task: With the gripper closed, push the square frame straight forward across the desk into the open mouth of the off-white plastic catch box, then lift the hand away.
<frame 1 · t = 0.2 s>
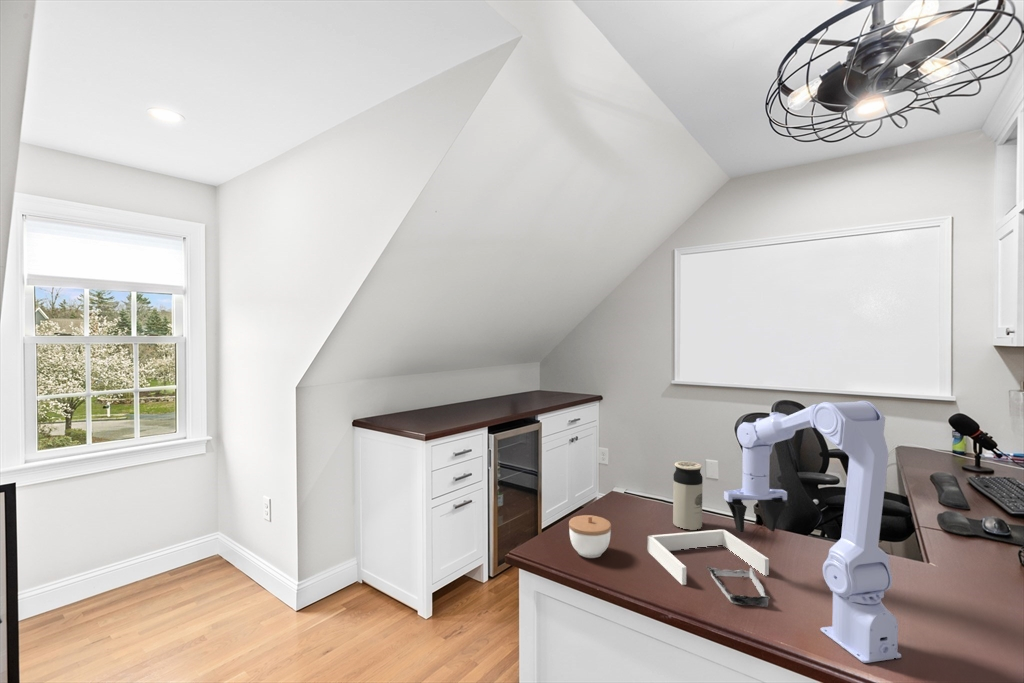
hand: (755, 530, 115), 10 cm above the table, tool pointing down, fingers open, 7 cm apart
lidded jar: (589, 553, 125), on the table
travel mug: (687, 526, 142), on the table
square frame: (737, 592, 107), on the table
catch box: (706, 563, 119), on the table
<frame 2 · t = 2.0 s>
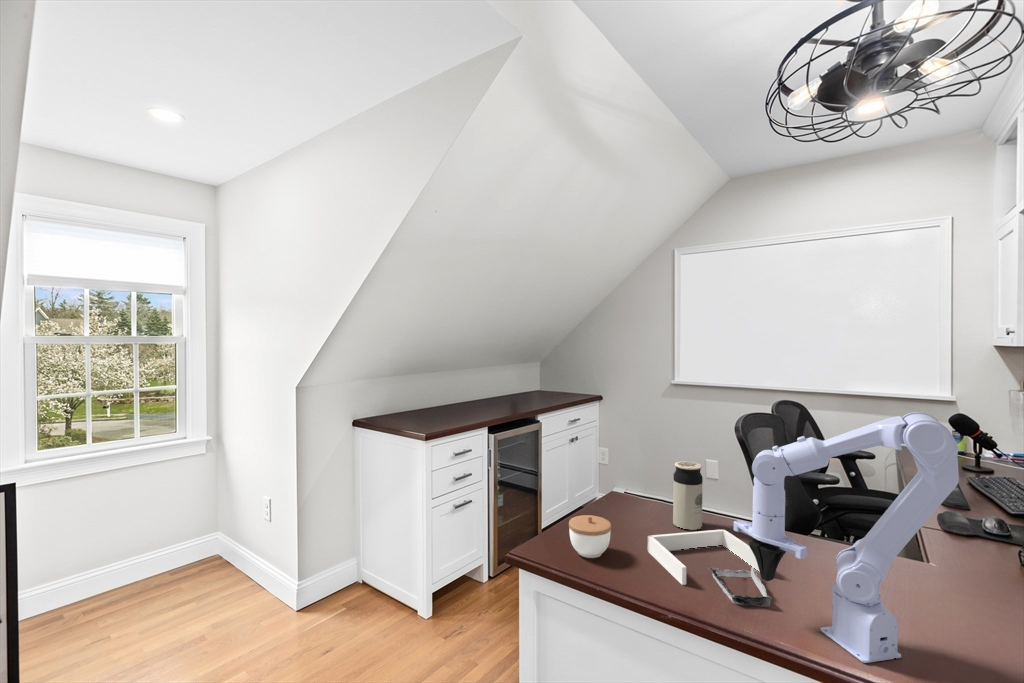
hand: (767, 578, 97), 8 cm above the table, tool pointing down, fingers closed
nothing on the table moved.
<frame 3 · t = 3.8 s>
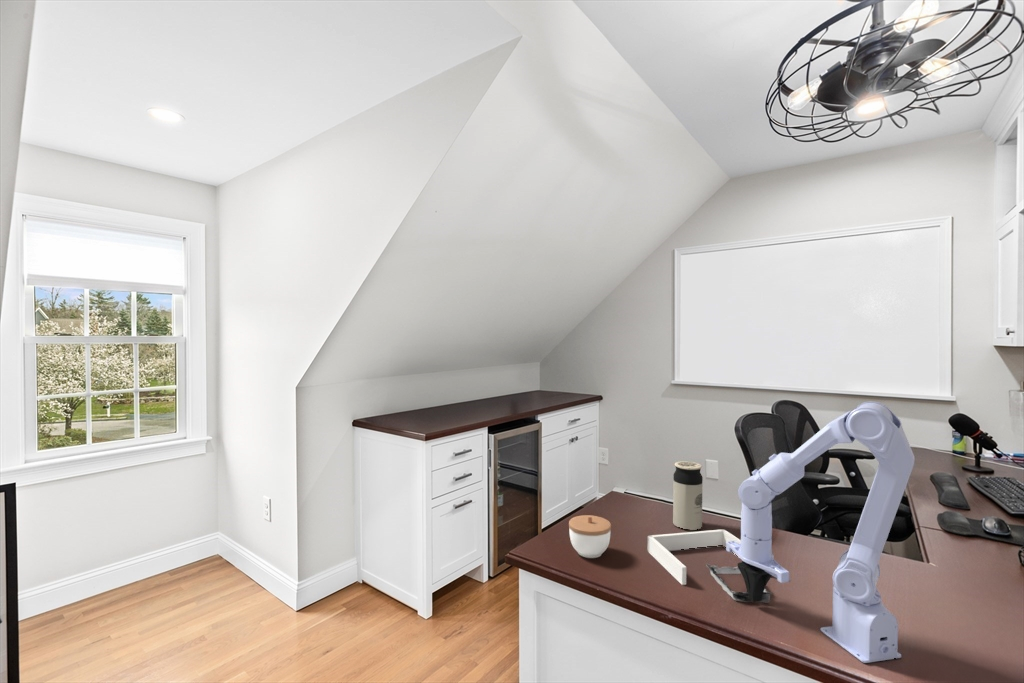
hand: (755, 599, 101), 1 cm above the table, tool pointing down, fingers closed
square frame: (738, 589, 109), on the table, touching gripper
everything else where it was.
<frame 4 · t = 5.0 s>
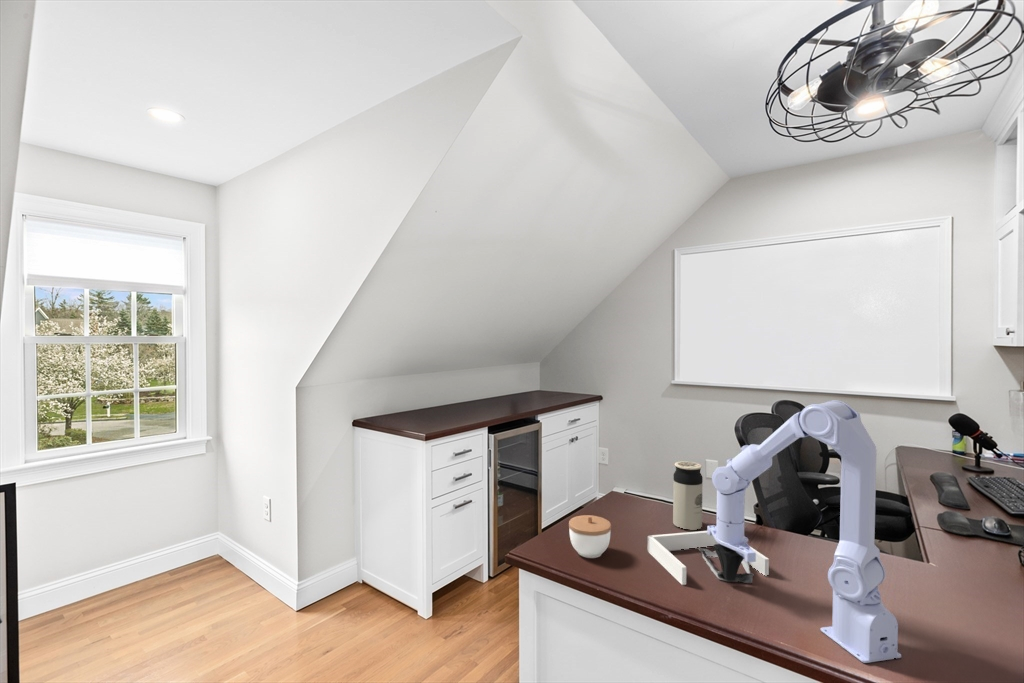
hand: (729, 578, 109), 1 cm above the table, tool pointing down, fingers closed
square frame: (726, 571, 117), on the table, touching gripper
everything else where it was.
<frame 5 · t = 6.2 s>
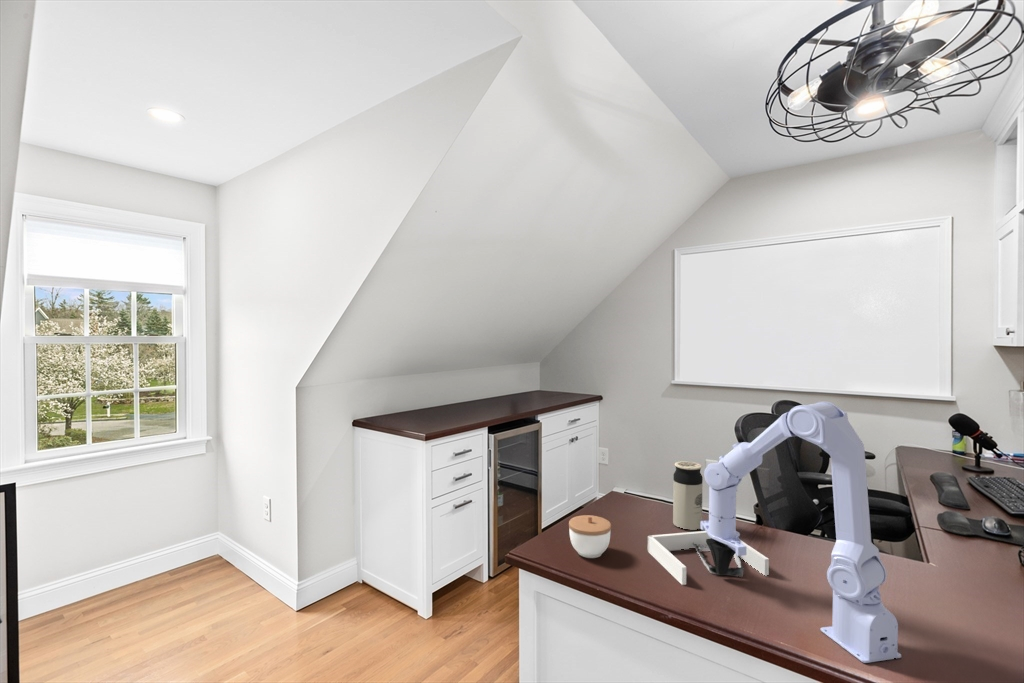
hand: (721, 572, 112), 1 cm above the table, tool pointing down, fingers closed
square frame: (718, 565, 120), on the table
everything else where it was.
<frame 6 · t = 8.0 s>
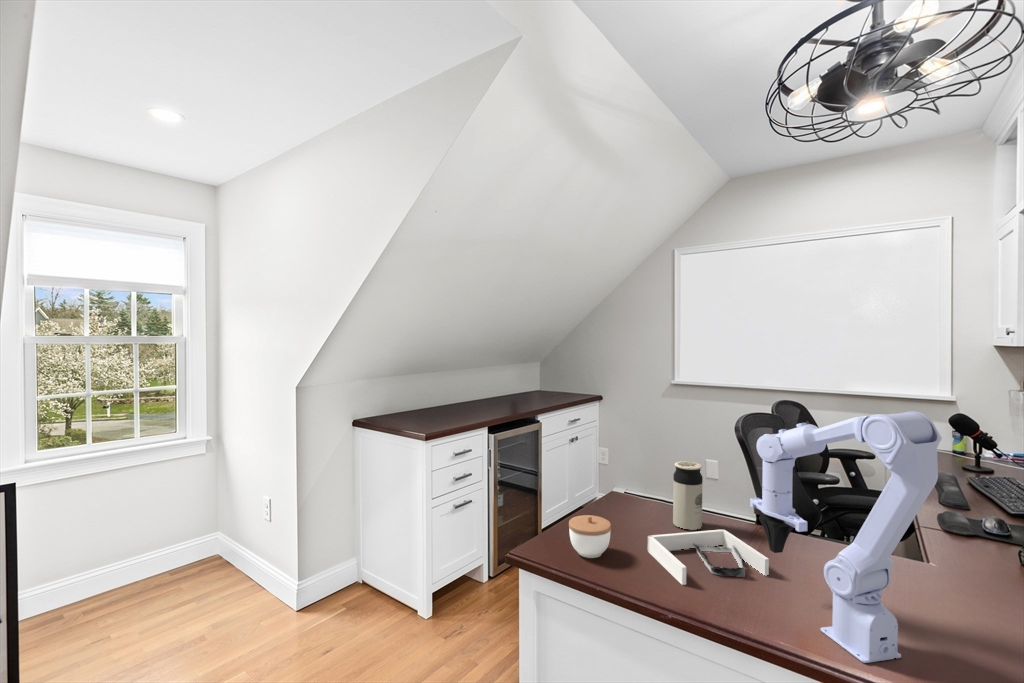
hand: (776, 551, 105), 9 cm above the table, tool pointing down, fingers closed
nothing on the table moved.
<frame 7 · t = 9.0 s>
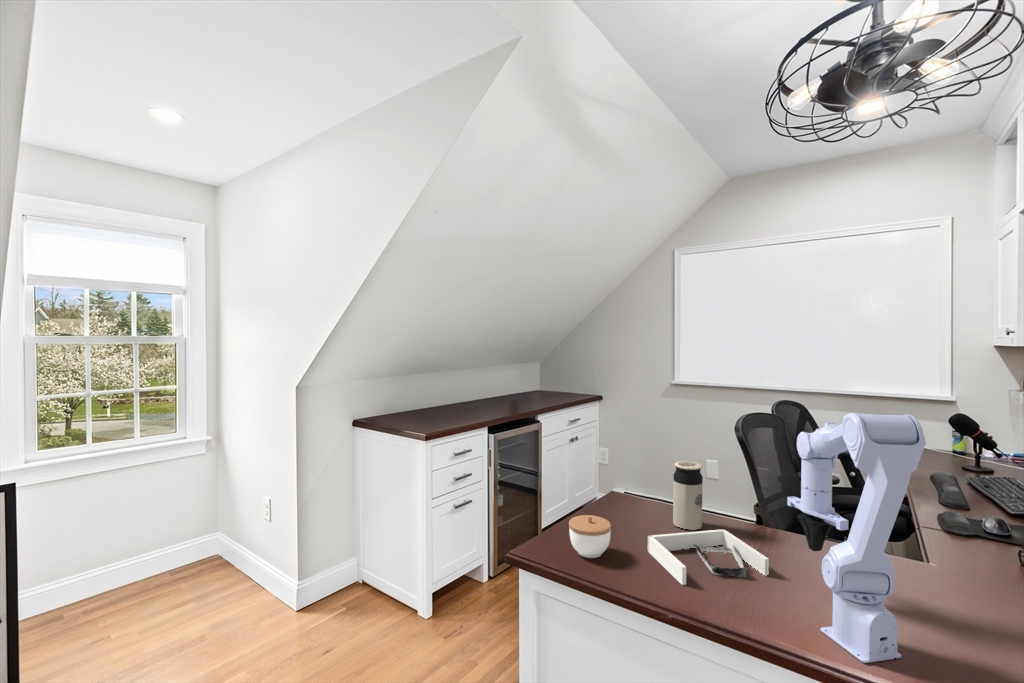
hand: (815, 549, 106), 9 cm above the table, tool pointing down, fingers closed
nothing on the table moved.
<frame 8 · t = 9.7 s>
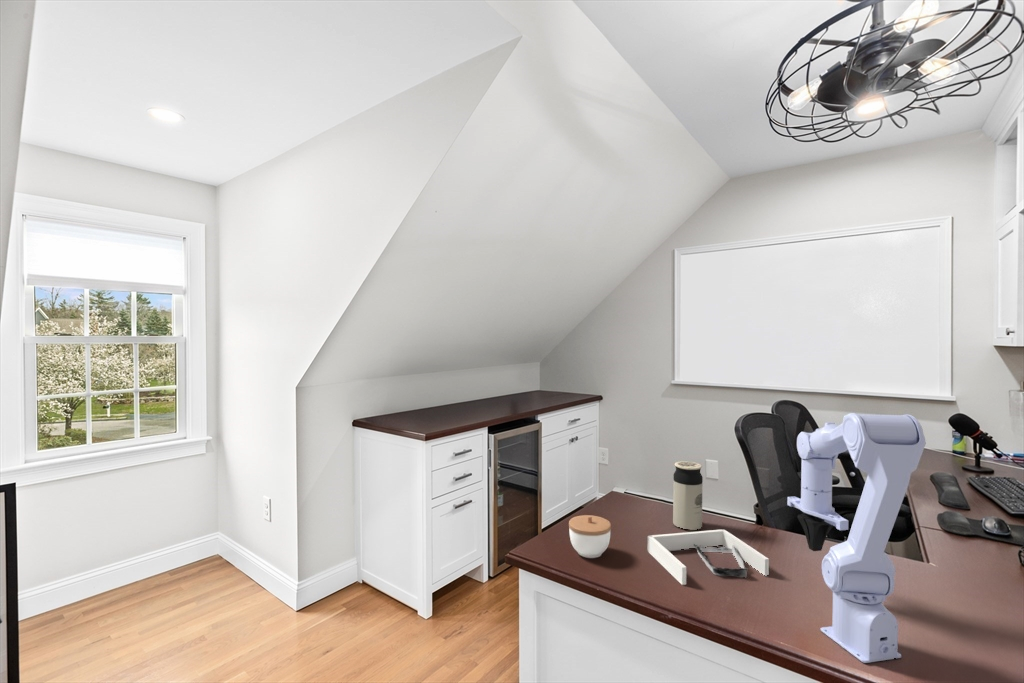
hand: (815, 549, 106), 9 cm above the table, tool pointing down, fingers closed
nothing on the table moved.
at the end: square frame inside the target area on the catch box (4.6 cm from its centre), point -0.7 cm above the catch box's base; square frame moved 11.8 cm from its start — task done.
